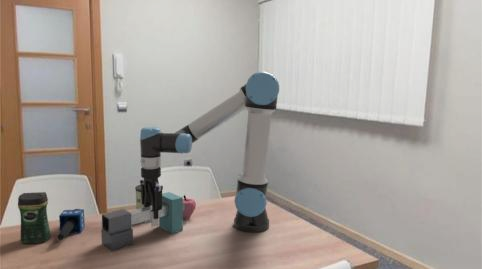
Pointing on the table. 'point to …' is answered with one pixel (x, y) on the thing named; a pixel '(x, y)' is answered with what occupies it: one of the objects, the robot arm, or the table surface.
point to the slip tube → (147, 213)
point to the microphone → (71, 222)
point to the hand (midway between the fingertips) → (151, 224)
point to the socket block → (172, 213)
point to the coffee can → (139, 197)
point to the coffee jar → (33, 217)
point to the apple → (188, 207)
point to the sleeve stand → (116, 230)
